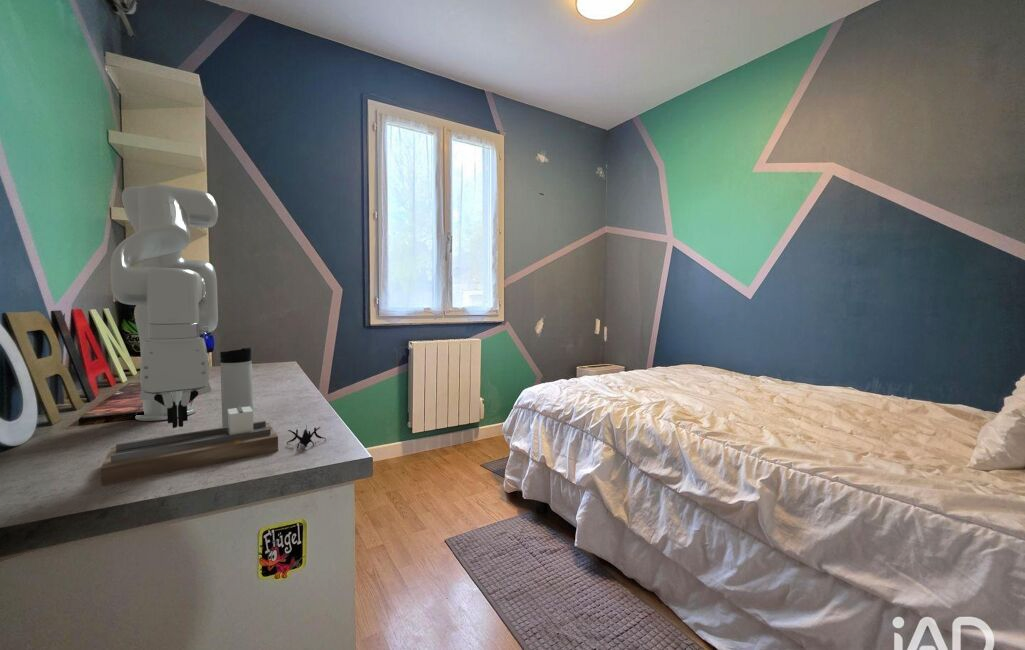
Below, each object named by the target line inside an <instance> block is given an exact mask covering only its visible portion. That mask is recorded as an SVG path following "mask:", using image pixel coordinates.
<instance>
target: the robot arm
mask: <svg viewBox="0 0 1025 650" xmlns="http://www.w3.org/2000/svg"><path fill="white" fill-rule="evenodd" d="M121 201H122V205H123V209H124V212H125V214H126V217H127V218H128V219H127V220H128V221H129V223H130V224H131V227H132V228H133V230H134V233H132V234H131V235H130V236H128V237H126V238H125V239H124V240H122V241H121V242H120V243H119V244H118V245H117V247H115V249H114V251H113V252H112V254H111V255H112V256H111V259H110V288H111V293H112V296H113V297H114V299H116V301H118V302H119V303H121V304H124V305H131V306H135V307H134V310H133V315H134V322H135V325H136V329H137V333H138V339H139V340H138V341H139V348H140V350H139V351H140V366H139V367H140V370H139V372H140V373H139V374H140V376H139V380H140V381H139V382H140V383H139V384H140V389H141V390H140V392H139V396H138V398H139V400H142V411H144V415H136V414H135V415H136V416H135V418H134V419H135V420H137V421H142V422H153V421H154V422H155V421H164V420H167V424H172V429H176V428H177V427H179V428H183V427H184V422H187V421H188V418H189V417H188V416H190V415H192V414H194V413H196V412H197V406H196V405H193V404H192V405H191V404H190V403H192V401H193V400H194V399H195V398H197V397H198V396H202V395H206V394H209V393H211V391H212V387H211V385H210V368H209V355H208V350H207V345H206V341H205V338H204V337H200V335H202V334H204V333H210V332H213V331H214V330H216V328H217V327H218V323H219V311H218V310H219V306H218V305H219V304H218V302H219V301H218V300H219V299H218V280H217V273H216V270H215V267H214V266H213V264H211V263H210V262H208V261H205V260H201V259H200V260H198V259H188V258H187V259H184V258H183V256H182V252H183V251H184V250H185V249H186V248H187V247H188V246H189V245H190V244H191V233H190V227H194V228H201V229H202V228H203V229H206V228H212V227H214V226H216V224H217V222H218V217H219V209H218V205H217V202H216V200H215V198H214V196H213V195H212V194H210V193H208V192H206V191H203V190H198V189H191V188H185V187H178V186H174V185H168V184H167V185H166V184H148V185H145V186H137V185H136V186H128V187H125V188H124V189H123V191H122V192H121ZM138 263H139V266H135V265H136V264H138Z"/></svg>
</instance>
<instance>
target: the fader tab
mask: <svg viewBox="0 0 1025 650" xmlns="http://www.w3.org/2000/svg"><path fill="white" fill-rule="evenodd" d="M253 423H254V410H253V411H252V409H251V407H250V406H248V407H241V406H239V407H237V408H232V409H228V433H229V435H233V434H239V433H245V432H251V431H253Z"/></svg>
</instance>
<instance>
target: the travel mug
mask: <svg viewBox="0 0 1025 650" xmlns="http://www.w3.org/2000/svg"><path fill="white" fill-rule="evenodd" d="M219 356H220V357H219V358H220V362H219V364H220V394H221V396H220V397H221V400H220V401H221V423H222V425H221V426H222V427H228V409H232V408H237V407H239V406H241V407H248V406H250V407H251V409H252V411H253V412H254V396H253V392H254V391H253V365H252V362H253V361H252V348H251V347H242V348H240V349H233V350H227V351H220V353H219ZM222 427H221V428H222Z"/></svg>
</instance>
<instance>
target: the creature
mask: <svg viewBox="0 0 1025 650" xmlns="http://www.w3.org/2000/svg"><path fill="white" fill-rule="evenodd" d="M305 427H306V428H305V429H304V430H303V432H302V436H300V435H298V434H299V430H298V428H297V429H296V430H295V431H293V430H291V429H288V430H287V431H288V432H289V433H290V432H291V433H292V434H293V435H294V437H293V438H292V439H290V440H289V441H287V442H286V444H287V445H289V443H292V442H294V441H296V440H297V439H298V441H299V442H298V443H297V445H296V447H297V448H296V449H299V447H300V445H299V444H301V445H303V446H304V447H305V448H306V447H307V446H308V444H309V443H311V444H312V446H313V447H315V446H314V444H315V443H314V441H312V439H311V438H312V437H313V436H315V437H316V438H317V439H324V441H326V440H327V438H326V437H324V436H323V437H322V436H321V435H319V434H318V433H317V431H318V430H319V429H321V426H319V427H314V429H313V432H311V431H310V430H307V427H308V426H307V424H306V426H305Z"/></svg>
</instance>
